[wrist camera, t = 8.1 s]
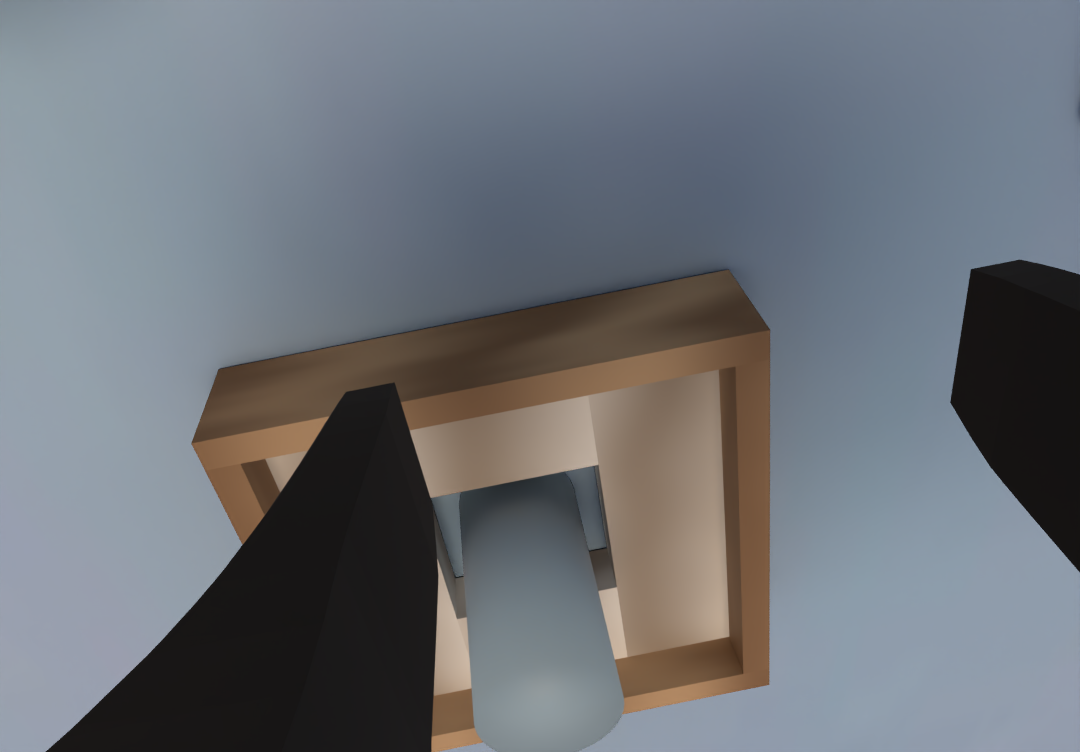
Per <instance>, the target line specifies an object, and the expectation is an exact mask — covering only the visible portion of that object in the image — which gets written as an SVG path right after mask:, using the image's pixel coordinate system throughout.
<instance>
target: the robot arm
mask: <svg viewBox="0 0 1080 752" xmlns="http://www.w3.org/2000/svg"><path fill="white" fill-rule="evenodd" d="M950 403H951V404H952V406H953V408H954V409H955V411H956V413H957V414H958V416H959V418H960V419H961V421H962V423H963V425H964V426H965V428H966V430H967V431H968V433H969V435H970V436H971V438H972V440H973V441H974V443H975V444H976V446H977V447H978V449H979V450H980V452H981V453H982V455H983V456H984V458H985V459H986V461H987V463H988V464H989V466H990V467H991V468H992V469H993V471H994V472H995V473H996V474H997V475H998V477H999V478H1000V479H1001V480H1002V482H1003V483H1004V484H1005V485H1006V486H1007V488H1008V489H1009V490H1010V491H1011V492H1012V494H1013V495H1014V496H1015V497H1016V498H1017V499H1018V501H1019V502H1020V503H1021V504H1022V505H1023V507H1024V508H1025V509H1026V510H1027V511H1028V513H1029V514H1030V515H1031V516H1032V517H1033V518H1034V520H1035V521H1036V522H1037V523H1038V524H1039V525H1040V527H1041V528H1042V529H1043V530H1044V531H1045V532H1046V534H1047V535H1048V536H1049V537H1050V538H1051V539H1052V541H1053V542H1054V543H1055V544H1056V545H1057V546H1058V547H1059V549H1060V550H1061V551H1062V552H1063V553H1064V554H1065V556H1066V557H1067V558H1068V559H1069V560H1070V561H1071V563H1072V564H1073V565H1074V566H1075V567H1076V568H1077V570H1078V571H1079V572H1080V275H1079V274H1076V273H1072V272H1069V271H1065V270H1062V269H1058V268H1054V267H1050V266H1046V265H1042V264H1038V263H1033V262H1028V261H1024V260H1016V261H1011V262H1006V263H1001V264H995V265H990V266H985V267H980V268H975V269H971V273H970V279H969V286H968V292H967V299H966V305H965V311H964V318H963V324H962V331H961V337H960V344H959V350H958V357H957V363H956V369H955V376H954V382H953V389H952V395H951V402H950ZM438 576H439V575H438V562H437V549H436V537H435V525H434V514H433V504H432V501H431V498H430V495H429V491H428V488H427V485H426V482H425V479H424V475H423V472H422V469H421V466H420V462H419V459H418V456H417V453H416V450H415V446H414V443H413V440H412V437H411V433H410V430H409V427H408V424H407V421H406V417H405V414H404V411H403V408H402V404H401V401H400V398H399V395H398V392H397V388H396V385H395V382H393V383H388V384H383V385H378V386H373V387H368V388H363V389H358V390H353V391H348V392H345V394H344V395H343V397H342V398H341V399H340V401H339V402H338V404H337V405H336V407H335V408H334V410H333V411H332V413H331V415H330V416H329V418H328V419H327V421H326V423H325V424H324V426H323V427H322V429H321V431H320V432H319V434H318V435H317V437H316V439H315V440H314V442H313V443H312V445H311V447H310V448H309V450H308V451H307V453H306V454H305V456H304V458H303V459H302V461H301V462H300V464H299V465H298V467H297V468H296V470H295V471H294V473H293V474H292V476H291V477H290V479H289V480H288V482H287V483H286V485H285V486H284V488H283V489H282V491H281V492H280V494H279V495H278V497H277V498H276V500H275V501H274V503H273V504H272V506H271V507H270V509H269V510H268V511H267V513H266V514H265V516H264V517H263V518H262V520H261V521H260V523H259V524H258V525H257V527H256V528H255V529H254V531H253V532H252V533H251V535H250V536H249V537H248V539H247V540H246V541H245V542H244V544H243V545H242V546H241V548H240V549H239V550H238V552H237V553H236V554H235V556H234V557H233V558H232V560H231V561H230V562H229V564H228V565H227V566H226V568H225V569H224V570H223V571H222V573H221V574H220V575H219V576H218V577H217V579H216V580H215V581H214V582H213V584H212V585H211V586H210V587H209V588H208V589H207V591H206V592H205V593H204V594H203V595H202V596H201V598H200V599H199V600H198V601H197V602H196V603H195V605H194V606H193V607H192V608H191V609H190V610H189V611H188V612H187V613H186V614H185V616H184V617H183V618H182V619H181V620H180V621H179V622H178V623H177V624H176V625H175V627H174V628H173V629H172V630H171V631H170V632H169V633H168V634H167V635H166V636H165V638H164V639H163V640H162V641H161V642H160V643H159V644H158V645H157V646H156V647H155V648H154V649H153V650H152V651H151V652H150V653H149V654H148V655H147V656H146V657H145V658H144V659H143V660H142V661H141V662H140V663H139V664H138V665H137V666H136V667H135V668H134V669H133V670H132V671H131V672H130V673H129V674H128V675H127V676H126V677H125V678H124V679H123V680H122V681H121V682H120V683H119V684H117V685H116V686H115V687H114V688H113V689H112V690H111V691H110V692H109V693H108V694H107V695H106V696H105V697H104V698H103V699H102V700H101V701H100V702H99V703H98V704H97V705H96V706H95V707H94V708H93V709H92V710H91V711H90V712H89V713H88V714H86V715H85V716H84V717H83V718H82V719H81V720H80V721H79V722H78V723H77V724H76V725H75V726H74V727H73V728H72V729H71V730H70V731H69V732H67V733H66V734H65V735H64V736H63V737H62V738H61V739H60V740H59V741H57V742H56V743H55V744H54V745H53V746H52V747H51V748H49V749H48V750H47V751H46V752H432V722H433V699H434V676H435V654H436V631H437V605H438Z"/></svg>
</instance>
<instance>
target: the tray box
mask: <svg viewBox="0 0 1080 752" xmlns="http://www.w3.org/2000/svg"><path fill="white" fill-rule="evenodd" d="M393 382H395V385H396V388H397V392H398V395H399V398H400V401H401V404H402V408H403V411H404V414H405V417H406V421H407V424H408V427H409V430H410V433H411V437H412V440H413V443H414V446H415V450H416V453H417V456H418V459H419V462H420V466H421V469H422V472H423V475H424V479H425V482H426V485H427V488H428V491H429V495H430V498H433V497H438V496H443V495H448V494H453V493H458V492H463V491H468V490H473V489H478V488H483V487H488V486H493V485H499V484H504V483H509V482H514V481H519V480H524V479H529V478H534V477H539V476H544V475H549V474H554V473H559V472H564V471H569V470H574V469H579V468H585V467H590V466H594V467H595V474H596V480H597V487H598V493H599V500H600V506H601V513H602V519H603V525H604V532H605V538H606V545H607V548H606V549H601V550H596V551H591V552H589V554H590V559H591V563H592V567H593V571H594V575H595V579H596V584H597V588H598V592H599V596H600V600H601V605H602V609H603V613H604V617H605V621H606V625H607V630H608V634H609V638H610V642H611V646H612V650H613V655H614V659H615V663H616V667H617V671H618V675H619V680H620V684H621V688H622V692H623V696H624V710H623V713H622V714H626V713H631V712H636V711H641V710H646V709H651V708H656V707H661V706H666V705H671V704H676V703H681V702H686V701H691V700H696V699H701V698H706V697H711V696H716V695H721V694H726V693H731V692H736V691H740V690H745V689H750V688H755V687H760V686H765V685H769V573H770V329H769V328H768V326H767V325H766V323H765V322H764V320H763V319H762V317H761V316H760V314H759V313H758V311H757V310H756V309H755V307H754V306H753V304H752V303H751V301H750V300H749V298H748V297H747V295H746V294H745V293H744V291H743V290H742V288H741V287H740V285H739V284H738V282H737V281H736V279H735V278H734V276H733V275H732V274H731V272H730V271H729V270H724V271H719V272H714V273H709V274H704V275H699V276H693V277H688V278H683V279H678V280H673V281H668V282H663V283H658V284H652V285H647V286H642V287H637V288H632V289H627V290H622V291H617V292H612V293H606V294H601V295H596V296H591V297H586V298H581V299H576V300H571V301H565V302H560V303H555V304H550V305H545V306H540V307H535V308H530V309H525V310H519V311H514V312H509V313H504V314H499V315H494V316H489V317H484V318H478V319H473V320H468V321H463V322H458V323H453V324H448V325H443V326H438V327H432V328H427V329H422V330H417V331H412V332H407V333H402V334H397V335H391V336H386V337H381V338H376V339H371V340H366V341H361V342H356V343H351V344H345V345H340V346H335V347H330V348H325V349H320V350H315V351H310V352H304V353H299V354H294V355H289V356H284V357H279V358H274V359H269V360H264V361H258V362H253V363H248V364H243V365H238V366H233V367H228V368H223V369H219V370H218V373H217V375H216V378H215V381H214V384H213V386H212V389H211V392H210V394H209V397H208V400H207V403H206V405H205V408H204V411H203V413H202V416H201V419H200V422H199V424H198V427H197V430H196V432H195V435H194V438H193V441H192V443H191V444H192V446H193V448H194V450H195V451H196V453H197V455H198V457H199V459H200V461H201V463H202V465H203V467H204V469H205V471H206V473H207V475H208V477H209V479H210V481H211V483H212V485H213V487H214V489H215V491H216V493H217V495H218V497H219V499H220V501H221V503H222V505H223V507H224V509H225V511H226V513H227V515H228V517H229V519H230V521H231V523H232V525H233V527H234V529H235V531H236V533H237V535H238V537H239V539H240V541H241V543H242V544H244V542H245V541H246V540H247V539H248V537H249V536H250V535H251V533H252V532H253V531H254V529H255V528H256V527H257V525H258V524H259V523H260V521H261V520H262V518H263V517H264V516H265V514H266V513H267V511H268V510H269V509H270V507H271V506H272V504H273V503H274V501H275V500H276V498H277V497H278V495H279V494H280V492H281V491H282V489H283V488H284V486H285V485H286V483H287V482H288V480H289V479H290V477H291V476H292V474H293V473H294V471H295V470H296V468H297V467H298V465H299V464H300V462H301V461H302V459H303V458H304V456H305V454H306V453H307V451H308V450H309V448H310V447H311V445H312V443H313V442H314V440H315V439H316V437H317V435H318V434H319V432H320V431H321V429H322V427H323V426H324V424H325V423H326V421H327V419H328V418H329V416H330V415H331V413H332V411H333V410H334V408H335V407H336V405H337V404H338V402H339V401H340V399H341V398H342V397H343V395H344V394H345V392H348V391H353V390H358V389H363V388H368V387H373V386H378V385H383V384H388V383H393ZM433 514H434V525H435V537H436V549H437V562H438V575H439V576H438V605H437V631H436V654H435V676H434V699H433V722H432V752H437V751H442V750H447V749H452V748H457V747H462V746H467V745H472V744H477V743H482V742H483V741H482V740H481V739H480V737H479V736H478V734H477V732H476V730H475V726H474V717H473V702H472V688H471V673H470V658H469V643H468V629H467V614H466V599H465V584H464V577H460V578H455V576H454V573H453V570H452V566H451V563H450V560H449V557H448V554H447V550H446V547H445V544H444V541H443V538H442V534H441V531H440V528H439V525H438V521H437V518H436V515H435V512H434V509H433Z"/></svg>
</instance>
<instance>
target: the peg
mask: <svg viewBox="0 0 1080 752" xmlns="http://www.w3.org/2000/svg"><path fill="white" fill-rule="evenodd" d="M459 510H460V525H461V540H462V555H463V569H464V584H465V599H466V614H467V629H468V643H469V658H470V673H471V688H472V702H473V717H474V726H475V730H476V732H477V734H478V736H479V737H480V739H481V740H482V741H483V742H484V743H485V744H486V745H487V746H489V747H490V748H492V749H494V750H496V751H498V752H576V751H579V750H582V749H584V748H586V747H588V746H590V745H592V744H594V743H596V742H597V741H599V740H600V739H602V738H603V737H604V736H606V735H607V734H608V733H609V732H610V731H611V730H612V729H613V728H614V727H615V726H616V724H617V723H618V722H619V720H620V718H621V716H622V713H623V710H624V696H623V692H622V688H621V684H620V680H619V675H618V671H617V667H616V663H615V659H614V655H613V650H612V646H611V642H610V638H609V634H608V630H607V625H606V621H605V617H604V613H603V609H602V605H601V600H600V596H599V592H598V588H597V584H596V579H595V575H594V571H593V567H592V563H591V559H590V554H589V550H588V546H587V542H586V538H585V534H584V529H583V525H582V521H581V517H580V513H579V509H578V504H577V500H576V496H575V492H574V488H573V485H572V483H571V481H570V479H569V478H568V476H567V475H566V474H565V473H564V472H559V473H554V474H549V475H544V476H539V477H534V478H529V479H524V480H519V481H514V482H509V483H504V484H499V485H493V486H488V487H483V488H478V489H473V490H468V491H463V492H462V493H461V496H460V501H459Z"/></svg>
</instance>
